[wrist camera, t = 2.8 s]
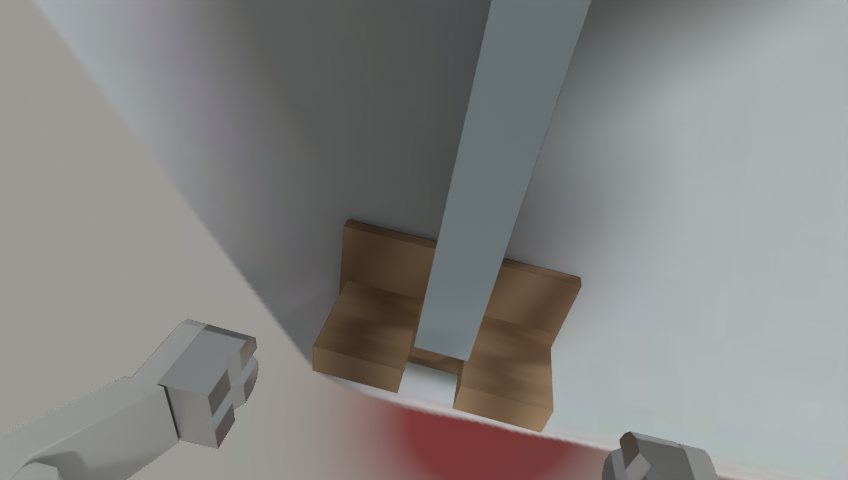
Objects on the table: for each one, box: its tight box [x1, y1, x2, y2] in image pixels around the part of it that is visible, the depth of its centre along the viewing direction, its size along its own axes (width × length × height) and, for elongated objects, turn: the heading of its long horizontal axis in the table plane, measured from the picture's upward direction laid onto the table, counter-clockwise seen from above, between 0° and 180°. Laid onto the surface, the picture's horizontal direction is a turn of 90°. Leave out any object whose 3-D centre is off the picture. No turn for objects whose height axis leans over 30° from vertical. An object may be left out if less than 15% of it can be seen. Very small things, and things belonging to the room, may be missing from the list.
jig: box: [313, 220, 582, 432], centre depth 29 cm, size 15×11×7 cm
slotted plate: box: [414, 0, 592, 361], centre depth 19 cm, size 14×2×10 cm, turn 170°
